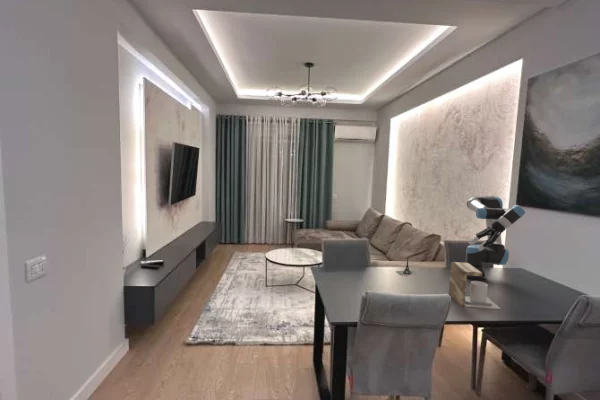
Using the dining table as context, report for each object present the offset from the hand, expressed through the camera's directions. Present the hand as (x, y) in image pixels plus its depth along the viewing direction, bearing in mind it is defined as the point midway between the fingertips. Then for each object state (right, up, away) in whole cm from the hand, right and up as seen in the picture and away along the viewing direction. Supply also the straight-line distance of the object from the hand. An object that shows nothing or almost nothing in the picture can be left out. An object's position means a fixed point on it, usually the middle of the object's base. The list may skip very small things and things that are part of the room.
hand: (474, 246), depth 207 cm
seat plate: (-9, -29, -19) cm, 36 cm away
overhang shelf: (-16, -29, -18) cm, 38 cm away
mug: (-9, -29, -19) cm, 36 cm away
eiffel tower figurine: (-33, -25, +32) cm, 53 cm away
